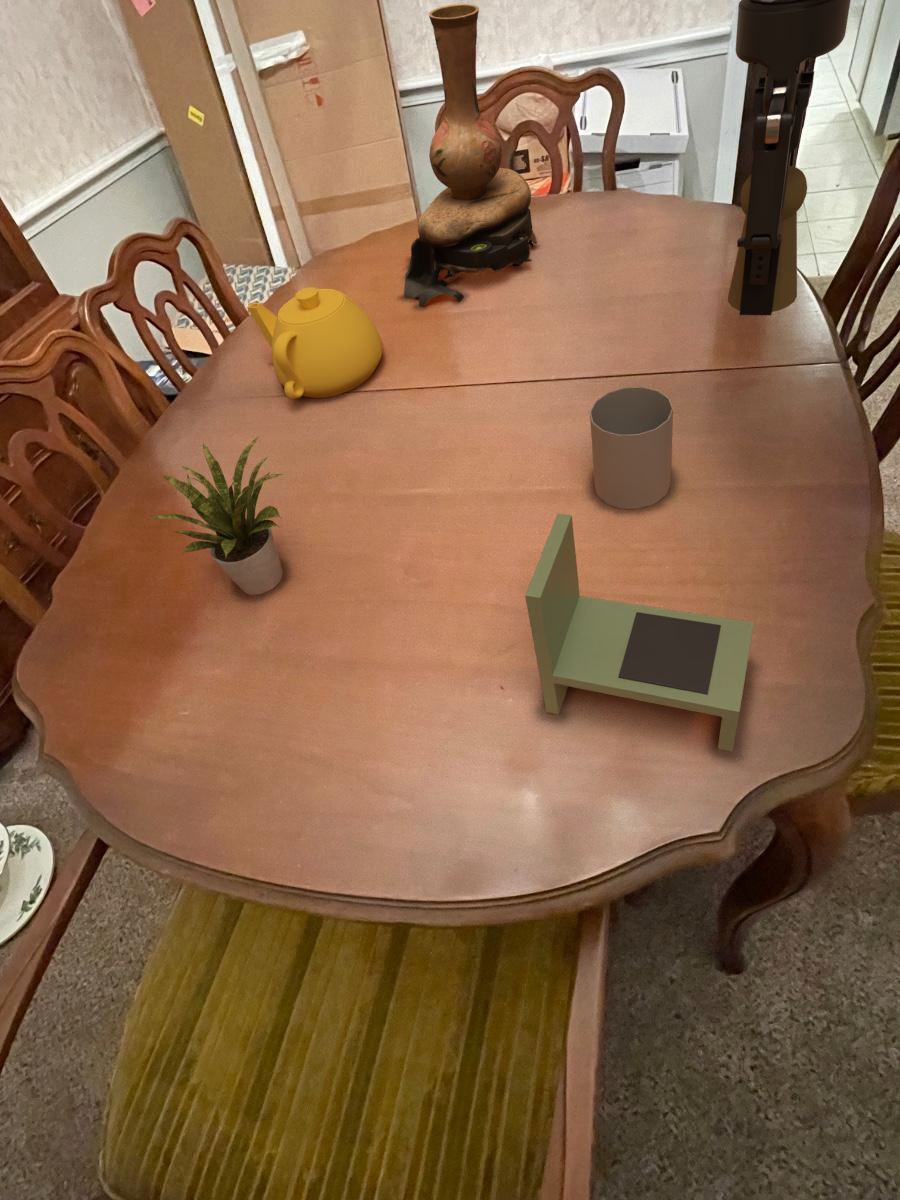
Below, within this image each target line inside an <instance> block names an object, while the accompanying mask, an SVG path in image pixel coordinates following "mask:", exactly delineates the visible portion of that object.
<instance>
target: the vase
mask: <svg viewBox="0 0 900 1200" xmlns="http://www.w3.org/2000/svg"><path fill="white" fill-rule="evenodd" d="M479 12H480V7H479V6H477V5H476V4H471V3H456V4H455V3H454V4H448V5H444V6H443V5H442V6H439V7H436V8H434V9H432V10H431V11H429V13H428V17H429V20H430V24H431V25H432V29H433V34H434V40H435V45H436V46H435V47H436V50H437V53H438V61H439V66H440V72H441V79H442V87H443V94H444V116H443V119H442V122H441V123H440V125H439V127H438V128H437V130H436V132H435V133H434V134H433V136H432V139H431V142H430V146H429V153H428V154H429V155H428V157H429V163H430V166H431V169H432V172H433V174H434V176H435V177H436V179H437V180H438V182H440V183H441V184H442V185H444V186H445V187H446V188H445V189H443V190H442V191H441V192H440V193H439V194H438V195H437V196H436V197H435V198H434V199H433V200H432V201H431V202H430V204H429V205H428V206H427V207H426V209H425V210H424V211H423V212H422V214H421V216H420V217H419V220H418V223H417V235H418V237H417V238H416V239H415V240H413V242H411V245H410V261H409V265H408V268H407V271H406V272H405V276H404V278H405V279H404V287H403V293H404V294H403V297H404V298H405V299H414V300H416V298H418V307H419V308H420V307H422V308H423V307H424V306H425V305H426V304H427V302H428V301H430V300H432V299H433V298H436V297H438V296H440V295H448V296H449V295H450V296H451V297H454V298H455V299H456V301H457V302H458V303H460V302H461V301H462V300H464V298H465V296H464V294H463V293H462V292H460V291H458V290H456V289H452V288H449V287H448V286H450V285H451V284H452V283H454V281H452V282H451V283H448V282H447V281H446V280H445V279H450V278H456V276H457V275H458V274H460V273H467V274H468V273H470V274H477V273H482V272H485V271H486V270H488V269H490V270H491V271H492V272H496V273H497V272H498V271H501V270H502V269H505V268H506V267H508V266H509V265H511V266H512V267H513V268H515V267H521V266H522V265H523V264H524V263H530V262H532V261H533V259H532V258H531V257H530V254H531V253H530V247H532V248H533V247H535V245H537V244H538V239H537V237H536V234H535V233H534V231H533V221H532V214H531V209H530V206H531V203H532V190H531V188H530V185H529V184H528V182H527V180H526V179H525V177H523V176H522V175H521V174H520V173H519V172H517V171H515V170H513V169H510V168H505V167H501V164H502V156H503V149H502V148H503V147H502V143H501V139H500V137H499V134H498V133H497V131H496V129H494V127H493V126H492V125H491V124H490V123H489V121H487V120H486V119H485V117H484V116H483V115H482V113H481V110H480V107H479V101H478V92H477V38H478V19H479ZM444 270H446V271H447V272H446V273H447V274H446V275H445V276H444V279H439V277H440V273H441V272H442V271H444ZM458 279H459V277H457V278H456V279H455V281H457V280H458Z"/></svg>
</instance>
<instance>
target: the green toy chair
mask: <svg viewBox="0 0 900 1200" xmlns="http://www.w3.org/2000/svg"><path fill="white" fill-rule="evenodd" d="M524 597H525V603H526V608H527V614H528V620H529V624H530V630H531V636H532V642H533V646H534V653H535V659H536V664H537V669H538V675H539V681H540V685H541V690H542V695H543V703H544V707H545V712H546V713H549V714H554V715H560V712H561V709H562V707H563V703H564V700H565V697H566V693H567V691H568V687H570V688H576V689H580V690H585V691H590V692H595V693H600V694H606V695H610V696H616V697H619V698H620V697H621V698H626V699H630V700H636V701H641V702H645V703H646V702H647V703H651V704H657V705H661V706H665V707H670V708H676V709H680V710H681V709H682V710H686V711H691V712H696V713H701V714H706V715H712V716H716V717H721V721H720V730H719V736H718V743H717V744H718V745H717V750H722V751H725V752H730V753H733V752H734V748H735V742H736V736H737V730H738V725H739V718H740V712H741V706H742V702H743V701H742V699H743V695H744V688H745V682H746V676H747V675H746V674H747V671H748V670H747V669H748V663H749V657H750V652H751V651H750V650H751V645H752V640H753V639H752V638H753V633H754V627H755V622H754V621H749V620H748V621H747V620H740V619H734V618H727V617H721V616H713V615H709V614H701V613H694V612H687V611H681V610H675V609H669V608H661V607H656V606H648V605H642V604H636V603H629V602H623V601H616V600H609V599H603V598H595V597H589V596H583V595H580V584H579V574H578V565H577V554H576V545H575V533H574V524H573V515H572V514H567V513H566V514H565V513H556V517H555V519H554V522H553V525H552V527H551V529H550V532H549V534H548V536H547V539H546V541H545V544H544V547H543V549H542V551H541V554H540V556H539V559H538V562H537V564H536V567H535V570H534V572H533V575H532V577H531V579H530V581H529V584H528V586H527V589H526V591H525V594H524Z"/></svg>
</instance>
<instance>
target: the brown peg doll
mask: <svg viewBox="0 0 900 1200" xmlns="http://www.w3.org/2000/svg"><path fill="white" fill-rule="evenodd" d="M750 184H751V174H749V176H748V177H747V178H746V179H745V182H744V183H743V185H742V188H741V191H740V205H741V210H742V212H743V213H744V215H745V216H744V221H743V226H742V230H741V236H740V238H745V235H746V225H747V215H748V205H749V195H750ZM807 193H808V181H807V177H806V175H805V173H804V172H803V170H801V169H800V168H798V167H796V166H795V167H793V166H789V171H788V178H787V185H786V193H785V200H784V207H783V214H782V221H781V228H780V235H781V246H780V254H779V262H778V270H777V278H776V286H775V294H774V301H773V309H772V313H774V312H778V311H781V310H784V309H786V308H788V307H790V306H791V305H792V304H793V303H795V301H796V299H797V297H798V211H799V210H800V209H801V207H802V206H803V204H804V202H805V200H806V197H807ZM745 251H746V249H744V247H738V249H737V255H736V258H735V263H734V267H733V271H732V277H731V280H730V281H731V282H730V287H729V290H728V294H727V302H728V304H729V305H730V306H731V308H733V309H735V310H737V311H739V312H740V305H741V294H742V283H743V272H744V262H745Z"/></svg>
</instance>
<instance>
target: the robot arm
mask: <svg viewBox="0 0 900 1200" xmlns="http://www.w3.org/2000/svg"><path fill="white" fill-rule="evenodd" d="M850 6H851V0H740V1H739V2H738V6H737V7H738V9H737V10H738V11H737V21H736V22H737V23H736V35H735V36H736V37H735V55H736V56H737V59H739V60H740V61H742V62H744V63H746V64H749V65H752V66H753V65H756V64H758V65H762V66H763V67H765V68H766V75H763V76H759V79H758V86H757V87H755V88H754V93H753V103H752V113H753V115H754V121H753V131H752V141H751V150H752V152H753V154H752V155H753V156H752V164H751V165H752V166H751V173H750V175H751V184H750V195H749V205H748V215H747V225H746V235H745V238H741V237H739V238H737V243H736V244H737V245H736V247H737V248H739V247H744V249H746V251H745V262H744V272H743V283H742V294H741V305H740V311H739V316H772V315H773V312H772V309H773V301H774V294H775V286H776V278H777V270H778V262H779V254H780V246H781V235H780V228H781V221H782V214H783V207H784V200H785V193H786V185H787V178H788V171H789V166H793V167H796V161H797V153H798V147H799V145H800V143H801V135H802V130H803V129H804V127H805V121H806V117H807V109H808V106H809V104H810V103H809V102H810V98H811V96H812V91H813V85H814V78H815V70H812V71H808V69H809V68H810V66H811V58H814V59H817V58H818V57H822V56H824V55H827V54H829V53H830V52H832V51H834V50H835V49H837V47H839V46H840V45H841V44H842V42H843V41H844V39H845V37H846V33H847V27H848V26H847V25H848V20H849V13H850Z"/></svg>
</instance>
